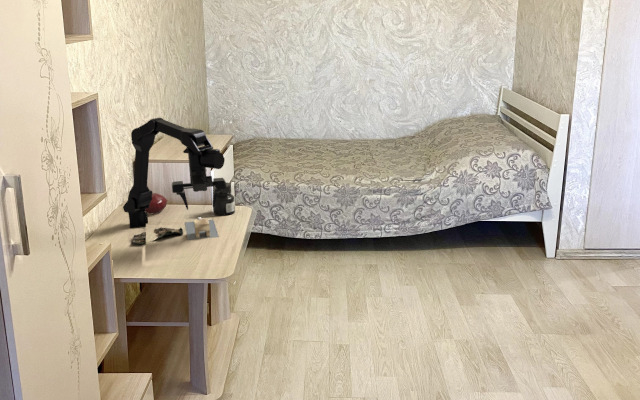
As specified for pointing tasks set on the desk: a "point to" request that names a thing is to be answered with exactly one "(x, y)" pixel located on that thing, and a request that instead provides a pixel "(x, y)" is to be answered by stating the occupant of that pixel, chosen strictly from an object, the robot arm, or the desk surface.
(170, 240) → the desk surface
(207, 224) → the block
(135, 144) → the robot arm
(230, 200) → the ink bottle
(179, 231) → the decorative rock
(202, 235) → the pin plate
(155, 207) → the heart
